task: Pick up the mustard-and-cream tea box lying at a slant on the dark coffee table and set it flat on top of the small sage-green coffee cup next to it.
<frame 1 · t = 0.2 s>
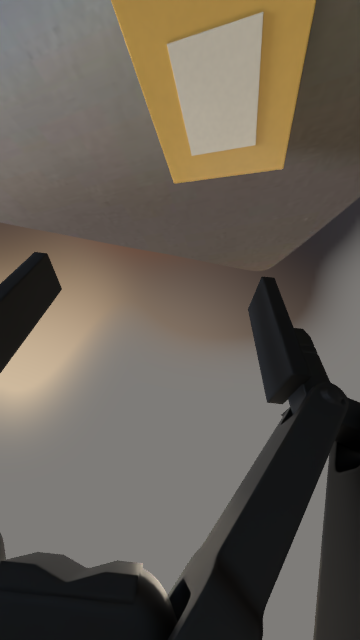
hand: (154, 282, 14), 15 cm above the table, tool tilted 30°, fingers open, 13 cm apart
tea packet: (225, 44, 14), on the table
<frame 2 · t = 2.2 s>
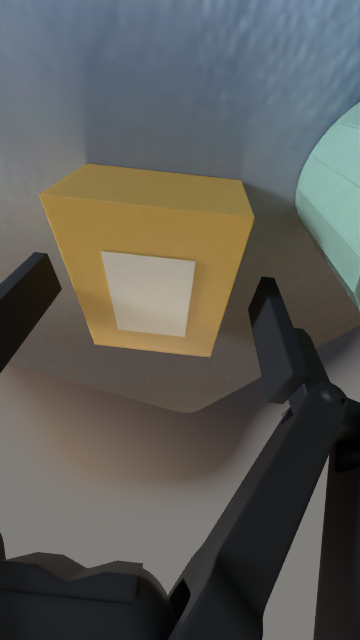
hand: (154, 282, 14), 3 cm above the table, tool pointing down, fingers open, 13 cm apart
tea packet: (162, 253, 15), on the table
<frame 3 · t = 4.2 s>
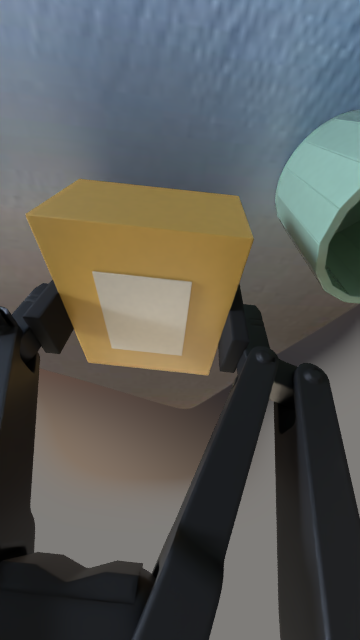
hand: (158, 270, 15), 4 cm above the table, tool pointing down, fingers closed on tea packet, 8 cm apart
cup: (332, 184, 13), on the table
tea packet: (158, 268, 15), point 3 cm above the table, touching gripper
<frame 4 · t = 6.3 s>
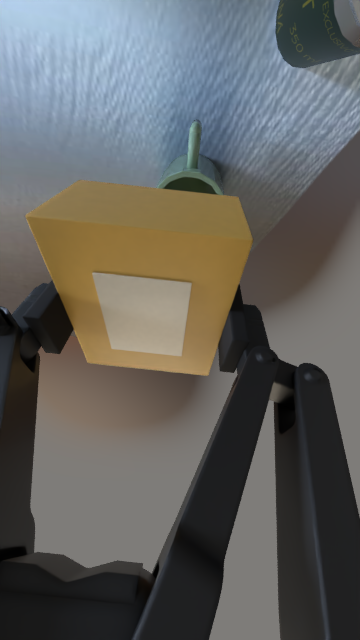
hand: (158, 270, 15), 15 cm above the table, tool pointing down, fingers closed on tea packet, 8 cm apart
cup: (191, 190, 24), on the table
tea packet: (158, 269, 15), point 15 cm above the table, touching gripper
beer can: (312, 12, 16), on the table
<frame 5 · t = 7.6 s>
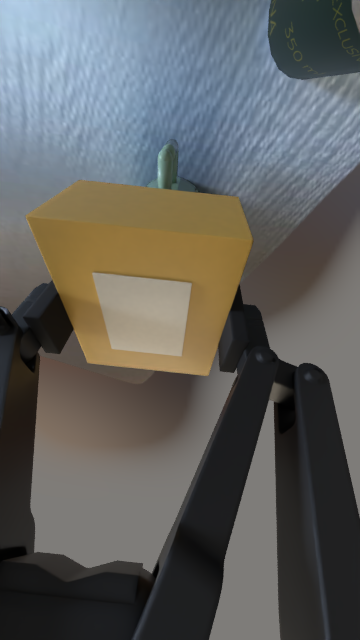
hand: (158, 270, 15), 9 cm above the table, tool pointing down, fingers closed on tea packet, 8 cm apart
cup: (171, 216, 21), on the table
tea packet: (158, 269, 15), point 9 cm above the table, touching gripper
beer can: (314, 9, 12), on the table
when the fingers open (8 cm above the table, at t = 8.3 s): tea packet stays where it is, resting on cup.
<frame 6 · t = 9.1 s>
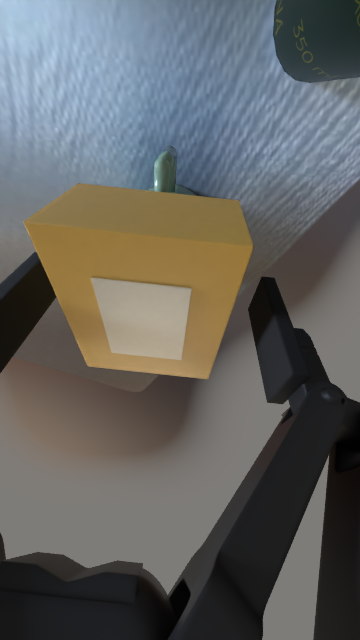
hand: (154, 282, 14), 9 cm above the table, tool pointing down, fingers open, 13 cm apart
cup: (170, 225, 20), on the table, touching tea packet
tea packet: (158, 272, 15), point 7 cm above the table, touching cup
beer can: (323, 7, 11), on the table
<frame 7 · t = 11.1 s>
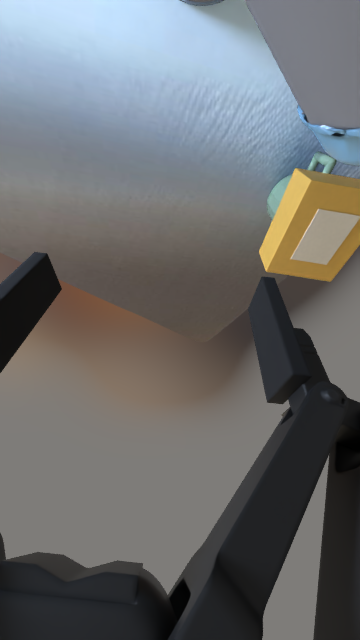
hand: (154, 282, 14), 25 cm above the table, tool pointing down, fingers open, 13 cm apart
cup: (290, 199, 32), on the table, touching tea packet
tea packet: (307, 220, 27), point 7 cm above the table, touching cup
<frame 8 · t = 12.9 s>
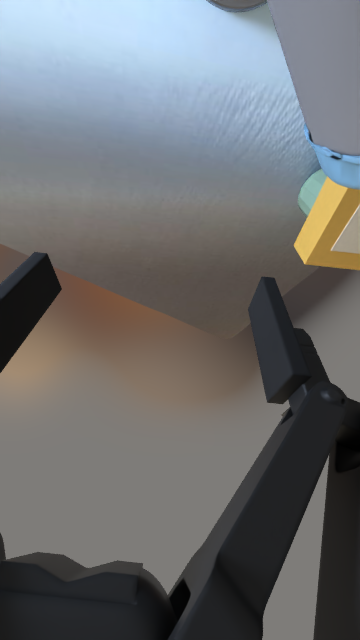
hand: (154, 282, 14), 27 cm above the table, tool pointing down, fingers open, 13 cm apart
cup: (322, 192, 32), on the table, touching tea packet
tea packet: (344, 212, 27), point 7 cm above the table, touching cup
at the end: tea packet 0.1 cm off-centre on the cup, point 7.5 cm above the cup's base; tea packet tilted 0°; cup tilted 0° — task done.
